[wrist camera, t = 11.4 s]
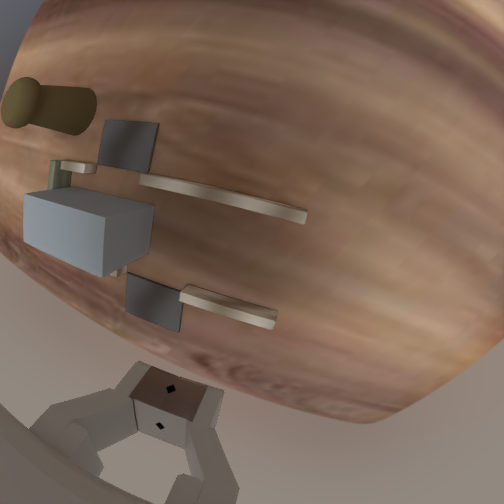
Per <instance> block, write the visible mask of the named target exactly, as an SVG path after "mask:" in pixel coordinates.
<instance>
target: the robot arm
mask: <svg viewBox="0 0 504 504" xmlns="http://www.w3.org/2000/svg"><path fill="white" fill-rule="evenodd" d="M223 395H224V390H222V389H219V388H215V387H212V386H208V385H205V384H202V383H199V382H196V381H192V380H189V379H186V378H183V377H179V376H176V375H174V374H171V373H168V372H166V371H163V370H161V369H158V368H156V367H154V366H151V365H148V364H146V363H143V362H141V361H138V362H136V363H135V364H134V365H133V366H132V368H131V369H130V370H129V371H128V373H127V374H126V375H125V376H124V378H123V379H122V380H121V381H120V383H119V384H118V385H117V386H116V388H115V389H114V390H113V389H111V388H109V389H106V390H102V391H99V392H96V393H92V394H90V395H86V396H82V397H79V398H75V399H72V400H68V401H64V402H61V403H57V404H53V405H51V406H50V407H49V408H48V409H47V410H46V411H45V412H44V413H43V414H42V415H41V416H40V417H39V418H38V420H37V421H36V422H35V423H34V424H33V425H32V426H31V427H30V428H29V429H28V428H27V427H25V426H24V425H23V424H22V423H21V422H20V421H18V420H17V419H16V418H15V417H14V416H13V415H12V414H11V413H10V412H9V411H8V410H7V409H6V408H5V407H4V406H3V405H2V404H0V504H153V503H151V502H149V501H146V500H144V499H142V498H139V497H137V496H135V495H132V494H130V493H128V492H126V491H124V490H122V489H120V488H118V487H116V486H114V485H112V484H110V483H108V482H106V481H104V480H103V479H100V478H99V475H100V473H101V472H102V470H103V468H104V467H103V463H102V462H101V460H100V458H99V456H98V454H97V452H98V451H100V450H102V449H104V448H106V447H108V446H111V445H113V444H115V443H117V442H119V441H121V440H123V439H125V438H127V437H129V436H131V435H133V434H135V433H137V431H140V432H142V433H145V434H147V435H150V436H152V437H155V438H158V439H161V440H163V441H165V442H168V443H170V444H173V445H175V446H178V447H181V448H183V449H185V453H186V456H187V461H188V464H189V468H190V472H191V475H192V476H189V475H186V474H181V475H178V476H177V478H176V480H175V482H174V484H173V487H172V489H171V491H170V493H169V495H168V497H167V500H166V502H165V504H236V500H237V496H238V492H239V486H238V484H237V482H236V479H235V477H234V475H233V472H232V470H231V468H230V466H229V463H228V461H227V458H226V456H225V454H224V451H223V449H222V446H221V444H220V441H219V438H218V436H217V433H216V431H215V426H216V423H217V420H218V416H219V412H220V408H221V403H222V399H223Z"/></svg>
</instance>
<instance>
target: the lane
mask: <svg viewBox="0 0 504 504" xmlns="http://www.w3.org/2000/svg"><path fill="white" fill-rule="evenodd" d="M158 127H159V124H158V123H148V122H136V121H120V120H105V124H104V129H103V133H102V138H101V143H100V149H99V154H98V160H97V164H98V165H104V166H110V167H116V168H122V169H128V170H133V171H139V172H144V173H149V170H150V165H151V160H152V155H153V150H154V145H155V140H156V136H157V132H158ZM97 164H94V163H87V162H80V161H73V160H51V163H50V171H49V180H48V190H52V189H60V188H68V187H70V181H71V173H72V171H73V172H79V173H96V167H97ZM139 184H140V185H144V186H149V187H154V188H158V189H163V190H167V191H172V192H176V193H181V194H185V195H189V196H193V197H198V198H202V199H206V200H210V201H214V202H219V203H223V204H227V205H231V206H235V207H239V208H243V209H246V210H250V211H254V212H258V213H262V214H266V215H269V216H273V217H277V218H281V219H284V220H288V221H292V222H295V223H299V224H302V225H305V221H306V217H307V214H308V212H307V210H304V209H301V208H297V207H293V206H290V205H286V204H282V203H278V202H275V201H271V200H267V199H263V198H259V197H255V196H251V195H247V194H243V193H239V192H235V191H230V190H226V189H222V188H218V187H213V186H209V185H204V184H200V183H195V182H191V181H186V180H181V179H176V178H171V177H166V176H161V175H156V174H151V173H149V174H140V178H139ZM125 272H127V265H125V266H124V267H122V268H120V269H118V270H116V271H114V272H113V273H111V274H109V275H112V276H114V277H116V278H117V277H119V276H120V275H122V274H124V273H125ZM183 302H184V303H187V304H189V305H192V306H195V307H198V308H201V309H204V310H207V311H211V312H214V313H217V314H220V315H223V316H226V317H229V318H233V319H236V320H239V321H243V322H246V323H249V324H253V325H256V326H260V327H263V328H267V329H270V330H273V328H274V325H275V322H276V317H277V313H278V311H274V310H271V309H267V308H264V307H260V306H257V305H253V304H250V303H247V302H243V301H240V300H237V299H233V298H230V297H227V296H223V295H220V294H217V293H214V292H211V291H207V290H204V289H201V288H198V287H195V286H192V285H189V284H188V285H187V286H186V287H185V288H184V289H183V290H182V291H179V290H177V289H174V288H171V287H168V286H165V285H162V284H159V283H156V282H154V281H151V280H148V279H145V278H143V277H140V276H137V275H134V274H132V273H129V272H128V273H127V287H126V312H128V313H130V314H132V315H135V316H137V317H139V318H142V319H144V320H147V321H149V322H152V323H154V324H157V325H159V326H162V327H164V328H167V329H170V330H172V331H175V332H178V333H179V332H180V324H181V316H182V309H183Z"/></svg>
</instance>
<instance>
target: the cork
mask: <svg viewBox="0 0 504 504" xmlns="http://www.w3.org/2000/svg"><path fill="white" fill-rule="evenodd" d="M96 105H97V102H96V96H95V94H94V92H93V91H92V90H91V89H89V88H80V87H68V86H50V85H40V83H39V82H38V81H37V80H35V79H33V78H30V77H24V78H20V79H18V80H16V81H15V82H13V84H12V85H11V86H10V87H9V89H8V90H7V92H6V94H5V97H4V100H3V103H2V108H1V116H2V120H3V122H4V123H5V125H6V126H9V127H11V128H20V127H23V126H26V125H27V124H28V123H29V124H33V125H37V126H41V127H45V128H48V129H52V130H56V131H59V132H63V133H67V134H70V135H79V134H81V133H82V132H84V131H85V130H86V129H87V127H88V126H89V125H90V123H91V121H92V120H93V117H94V114H95V112H96Z"/></svg>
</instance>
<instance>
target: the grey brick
mask: <svg viewBox="0 0 504 504" xmlns="http://www.w3.org/2000/svg"><path fill="white" fill-rule="evenodd" d="M154 210H155V206H154V205H150V204H146V203H142V202H138V201H134V200H130V199H125V198H121V197H117V196H113V195H108V194H104V193H100V192H96V191H91V190H87V189H82V188H78V187H68V188H60V189H52V190H45V191H39V192H32V193H26V194H24V219H23V227H24V242H26V243H28V244H29V245H31V246H33V247H35V248H37V249H39V250H41V251H44V252H46V253H48V254H50V255H52V256H54V257H56V258H58V259H60V260H62V261H65V262H67V263H69V264H71V265H73V266H75V267H78V268H80V269H82V270H84V271H87V272H89V273H91V274H94V275H96V276H98V277H101V278H104V277H105V276H107V275H109V274H111V273H113V272H114V271H116V270H118V269H120V268H122V267H124V266H125V265H127V264H129V263H131V262H133V261H135V260H137V259H139V258H140V257H142V256H144V255H146V254H148V253H149V247H150V239H151V231H152V224H153V217H154Z"/></svg>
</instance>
